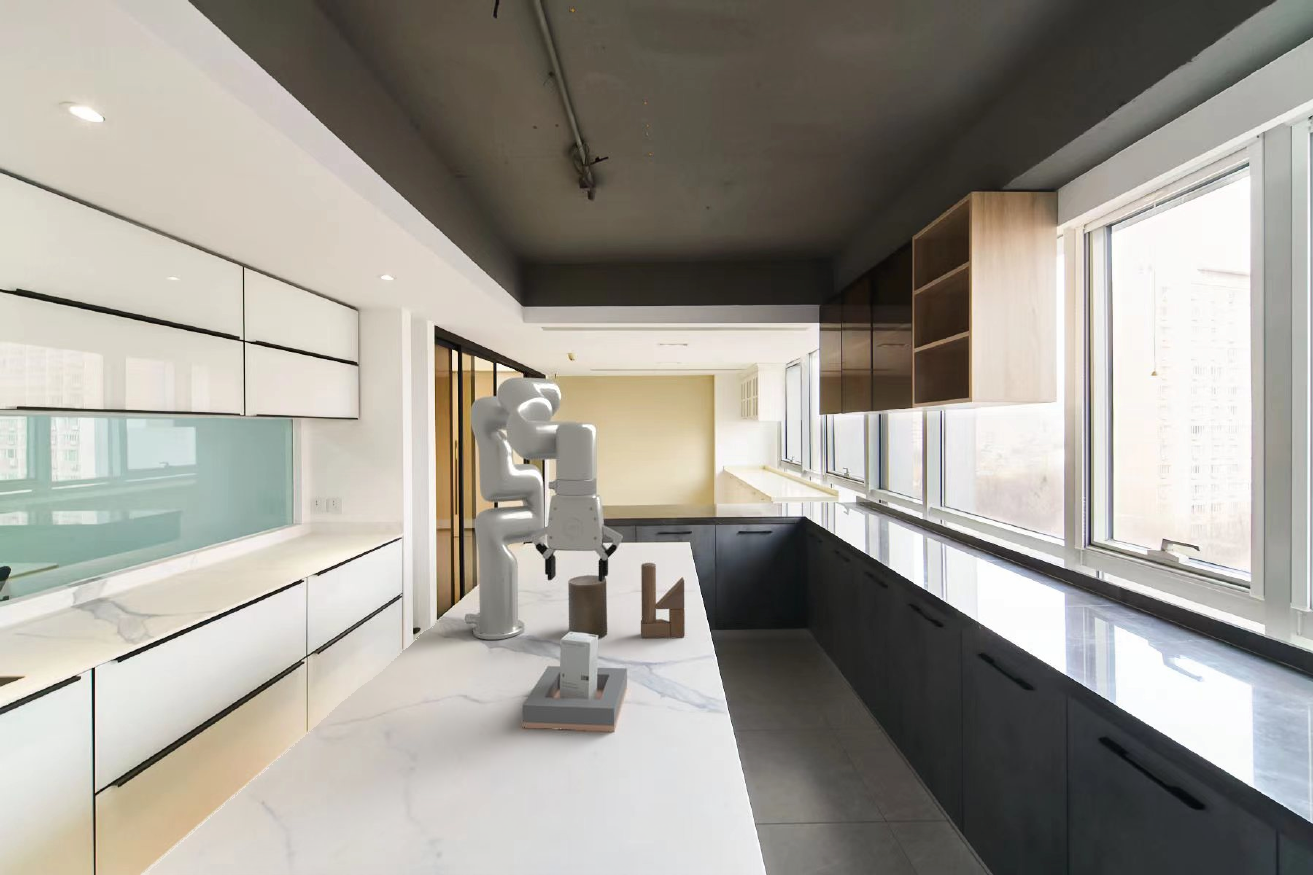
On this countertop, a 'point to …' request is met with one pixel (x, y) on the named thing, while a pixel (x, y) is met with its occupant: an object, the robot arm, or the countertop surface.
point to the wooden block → (661, 607)
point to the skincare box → (578, 666)
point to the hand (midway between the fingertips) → (576, 578)
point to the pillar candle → (588, 605)
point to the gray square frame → (576, 703)
